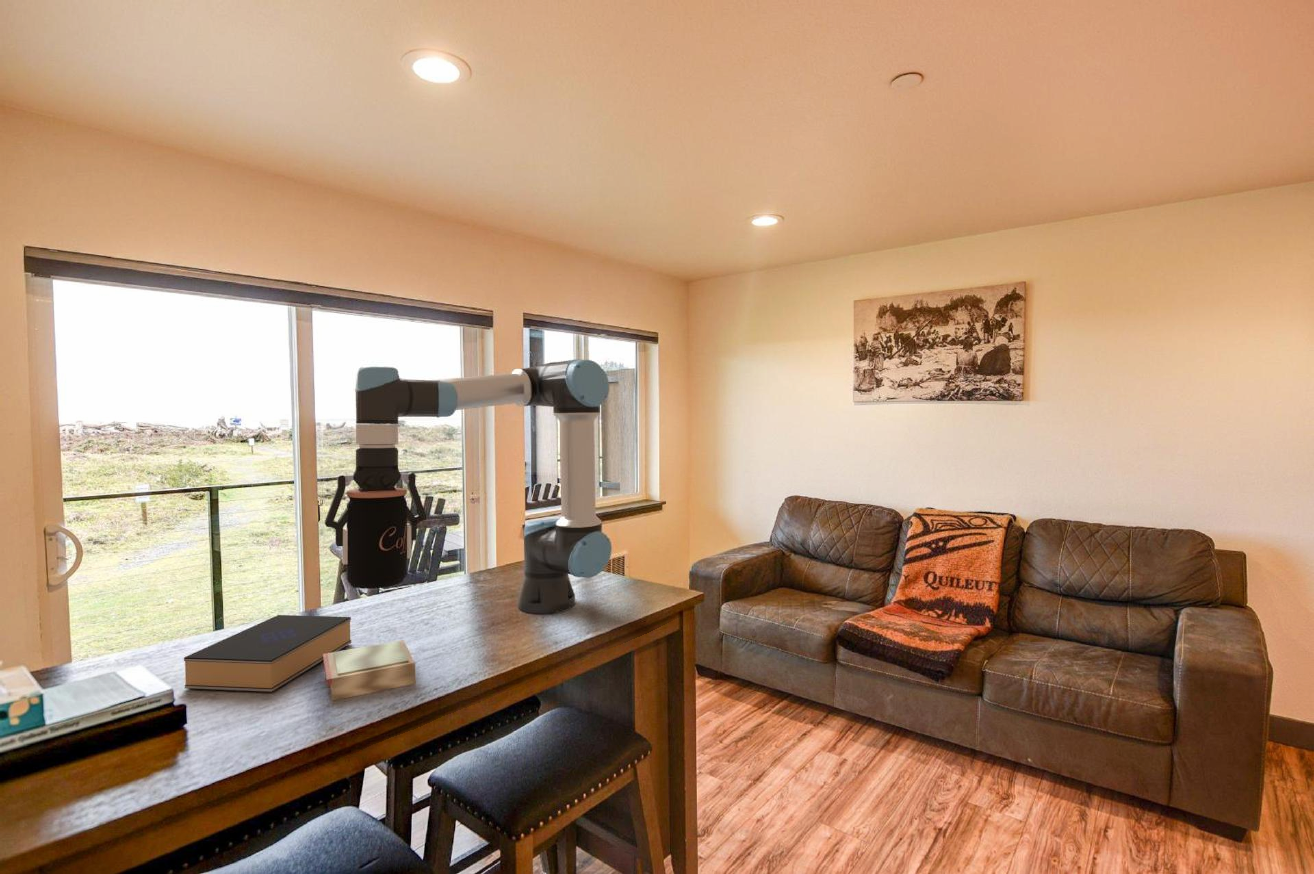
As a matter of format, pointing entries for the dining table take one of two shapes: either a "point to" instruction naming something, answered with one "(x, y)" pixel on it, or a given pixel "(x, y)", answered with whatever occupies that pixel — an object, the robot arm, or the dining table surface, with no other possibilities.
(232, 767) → the dining table surface
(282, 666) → the book
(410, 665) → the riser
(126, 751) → the dining table surface
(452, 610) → the dining table surface
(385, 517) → the coffee jar
